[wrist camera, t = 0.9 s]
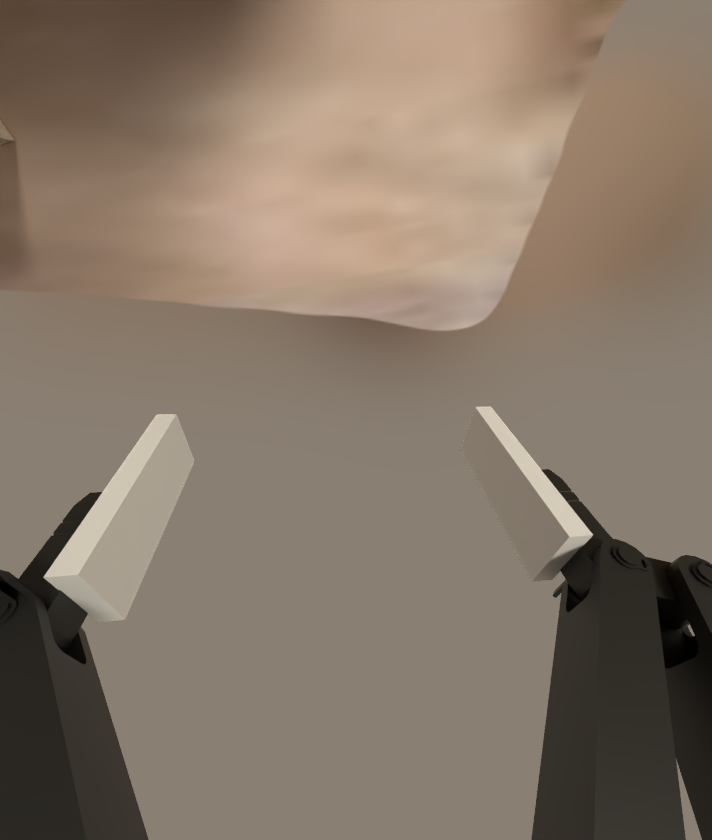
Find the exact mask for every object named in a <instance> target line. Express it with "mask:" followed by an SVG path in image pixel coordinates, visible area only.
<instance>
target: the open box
mask: <svg viewBox="0 0 712 840" xmlns="http://www.w3.org/2000/svg"><path fill="white" fill-rule="evenodd" d="M12 141H15V140H14V139H13V137H12V136H11V135H10V133H9V132H8V130H7V129H6V127H5V126H4V124H3V123H2V121H1V120H0V145H2V144H5V143H8V142H12Z"/></svg>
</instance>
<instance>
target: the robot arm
mask: <svg viewBox="0 0 712 840" xmlns="http://www.w3.org/2000/svg"><path fill="white" fill-rule="evenodd" d="M460 451H461V453H462V455H463V456H464V458H465V460H466V462H467V464H468V466H469V467H470V469H471V471H472V473H473V475H474V476H475V478H476V480H477V482H478V484H479V486H480V487H481V489H482V491H483V493H484V495H485V497H486V498H487V500H488V502H489V504H490V506H491V507H492V509H493V511H494V513H495V515H496V516H497V518H498V520H499V522H500V524H501V526H502V528H503V529H504V531H505V533H506V535H507V537H508V538H509V540H510V542H511V544H512V546H513V548H514V549H515V551H516V553H517V555H518V557H519V559H520V560H521V562H522V564H523V566H524V568H525V569H526V571H527V573H528V575H529V576H530V579H531V580H532V581H541V580H552V579H553V578H554V577H555V576H556V575H557V574H558V573H559V572H560V571H561V572H562V574H563V575H564V577H565V578H566V580H565V581H564V582H563V583H562V584H561V585H560V586H559V587H558V588H557V589H556V590H555V592H554V594H553V596H554V597H557V596H558V595H559V594H560V593H561V592H562V594H561V602H560V610H559V619H558V626H557V635H556V643H555V651H554V660H553V667H552V676H551V685H550V693H549V700H548V709H547V718H546V725H545V733H544V742H543V751H542V758H541V766H540V774H539V783H538V791H537V799H536V808H535V816H534V824H533V833H532V840H686V839H685V831H684V822H683V814H682V806H681V798H680V789H679V781H678V773H677V764H676V759H677V762H678V765H679V768H680V772H681V775H682V778H683V781H684V784H685V787H686V790H687V793H688V796H689V800H690V803H691V806H692V809H693V812H694V815H695V818H696V821H697V825H698V828H699V831H700V834H701V837H702V840H712V564H710V563H709V562H707V561H705V560H703V559H700V558H697V557H695V556H689V555H685V556H681V557H679V558H678V559H676V560H675V561H674V562H672V563H670V562H666V561H661V560H656V559H652V558H648V557H645V556H644V555H643V554H642V553H641V552H639V551H638V550H637V549H636V548H635V547H633V546H631V545H629V544H627V543H626V542H623V541H620V540H617V539H612V537H611V536H610V535H609V534H608V533H607V532H606V531H605V529H604V528H603V527H602V526H601V525H600V524H599V522H598V521H597V520H596V519H595V518H594V517H593V515H592V514H591V513H590V512H589V511H588V509H587V508H586V507H585V506H584V505H583V504H582V502H579V499H578V498H577V496H576V495H575V494H574V493H573V492H571V489H570V488H569V487H568V486H567V484H566V483H565V482H564V481H563V480H562V479H561V478H560V477H559V476H557V475H556V474H554V473H553V472H552V471H550V470H549V469H546V470H541V469H540V468H539V466H538V465H537V464H536V463H535V462H534V460H533V459H532V458H531V456H530V455H529V454H528V453H527V451H526V450H525V449H524V448H523V446H522V445H521V444H520V443H519V441H518V440H517V439H516V438H515V436H514V435H513V434H512V433H511V431H510V430H509V429H508V428H507V426H506V425H505V424H504V423H503V421H502V420H501V419H500V418H499V416H498V415H497V414H496V413H495V411H494V410H493V409H492V408H491V407H475V410H474V412H473V416H472V418H471V421H470V424H469V427H468V430H467V433H466V435H465V439H464V442H463V444H462V447H461V450H460ZM193 463H194V459H193V456H192V453H191V451H190V448H189V446H188V443H187V441H186V438H185V436H184V433H183V430H182V428H181V425H180V423H179V420H178V417H177V415H176V414H162V415H156V416H155V418H154V419H153V421H152V422H151V423H150V425H149V426H148V428H147V429H146V431H145V432H144V433H143V435H142V436H141V438H140V439H139V441H138V442H137V444H136V445H135V447H134V448H133V449H132V451H131V452H130V454H129V455H128V456H127V458H126V459H125V461H124V462H123V464H122V465H121V467H120V468H119V469H118V471H117V472H116V474H115V475H114V477H113V478H112V480H111V481H110V482H109V484H108V485H107V487H106V488H105V489H104V491H103V492H97V493H89V494H88V495H87V496H86V497H84V498H83V499H82V500H81V501H79V502H78V503H77V504H76V505H74V506H73V508H72V509H71V510H70V512H69V513H68V514H67V516H66V517H65V518H64V520H63V523H61V524H60V525H59V526H58V528H57V529H56V530H55V532H54V535H53V536H51V537H50V538H49V540H48V541H47V542H46V543H45V545H44V546H43V548H42V549H41V550H40V551H39V553H38V554H37V555H36V557H35V558H34V559H33V561H32V562H31V563H30V565H29V566H28V567H27V569H26V570H25V571H24V572H23V574H22V575H21V576H20V578H19V579H17V578H16V577H14V576H13V575H12V574H11V573H9V572H7V571H2V570H0V840H148V837H147V834H146V830H145V827H144V824H143V820H142V817H141V814H140V811H139V807H138V804H137V801H136V798H135V794H134V791H133V788H132V785H131V781H130V778H129V775H128V771H127V768H126V765H125V762H124V759H123V755H122V752H121V749H120V746H119V742H118V739H117V736H116V732H115V729H114V726H113V723H112V719H111V716H110V713H109V709H108V706H107V703H106V700H105V696H104V693H103V690H102V687H101V683H100V680H99V677H98V673H97V670H96V667H95V664H94V661H93V657H92V654H91V651H90V647H89V644H88V641H87V637H86V634H85V632H84V630H83V629H82V628H81V625H82V623H83V622H84V620H85V618H86V616H87V614H88V615H89V616H90V617H91V618H93V619H94V620H95V621H96V622H104V621H114V620H125V618H126V616H127V613H128V611H129V609H130V606H131V604H132V602H133V600H134V598H135V595H136V593H137V591H138V588H139V586H140V584H141V582H142V579H143V577H144V575H145V573H146V570H147V568H148V566H149V563H150V561H151V559H152V557H153V554H154V552H155V550H156V547H157V545H158V543H159V541H160V539H161V536H162V534H163V532H164V529H165V527H166V525H167V523H168V520H169V518H170V516H171V514H172V511H173V509H174V507H175V504H176V502H177V500H178V498H179V495H180V493H181V491H182V488H183V486H184V484H185V482H186V479H187V477H188V475H189V472H190V470H191V468H192V466H193ZM689 624H690V625H691V628H692V630H693V632H694V634H695V636H692V634H691V633H690V631H689V629H688V627H687V626H688V625H689Z"/></svg>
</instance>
